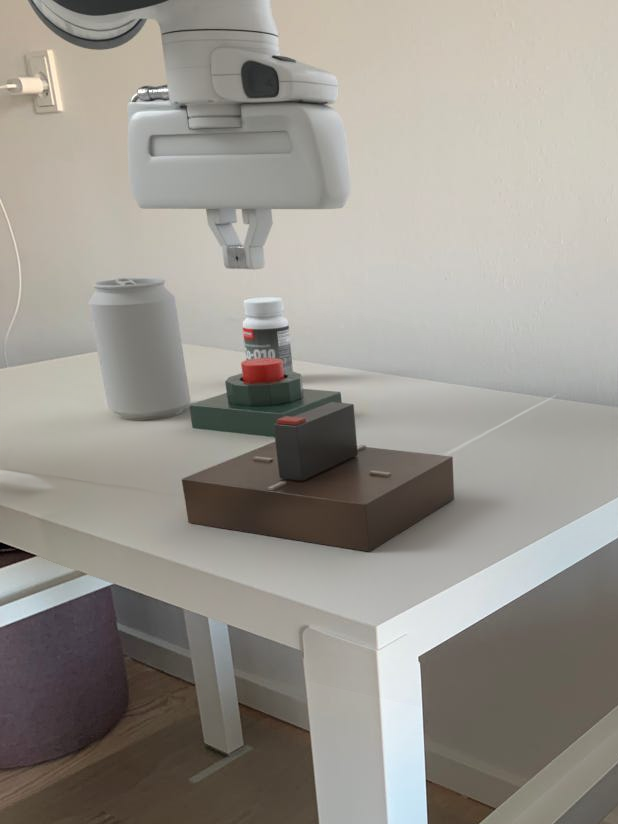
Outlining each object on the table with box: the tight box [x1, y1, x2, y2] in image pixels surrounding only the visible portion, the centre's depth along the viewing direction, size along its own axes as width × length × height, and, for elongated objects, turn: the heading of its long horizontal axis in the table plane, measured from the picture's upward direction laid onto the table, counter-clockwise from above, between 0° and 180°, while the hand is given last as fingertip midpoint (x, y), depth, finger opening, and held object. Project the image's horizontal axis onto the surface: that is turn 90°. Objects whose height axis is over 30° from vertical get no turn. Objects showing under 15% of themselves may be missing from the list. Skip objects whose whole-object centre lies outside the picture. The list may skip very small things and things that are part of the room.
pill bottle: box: [242, 296, 294, 372], centre depth 105 cm, size 5×5×8 cm
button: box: [240, 358, 285, 383], centre depth 88 cm, size 4×4×2 cm
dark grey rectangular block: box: [273, 402, 358, 481], centre depth 65 cm, size 6×2×4 cm, turn 154°
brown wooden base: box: [181, 441, 455, 553], centre depth 67 cm, size 14×11×3 cm
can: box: [87, 277, 191, 421], centre depth 92 cm, size 8×8×12 cm
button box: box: [188, 370, 343, 438], centre depth 89 cm, size 10×9×4 cm
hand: (244, 268), depth 84 cm, fingers closed
